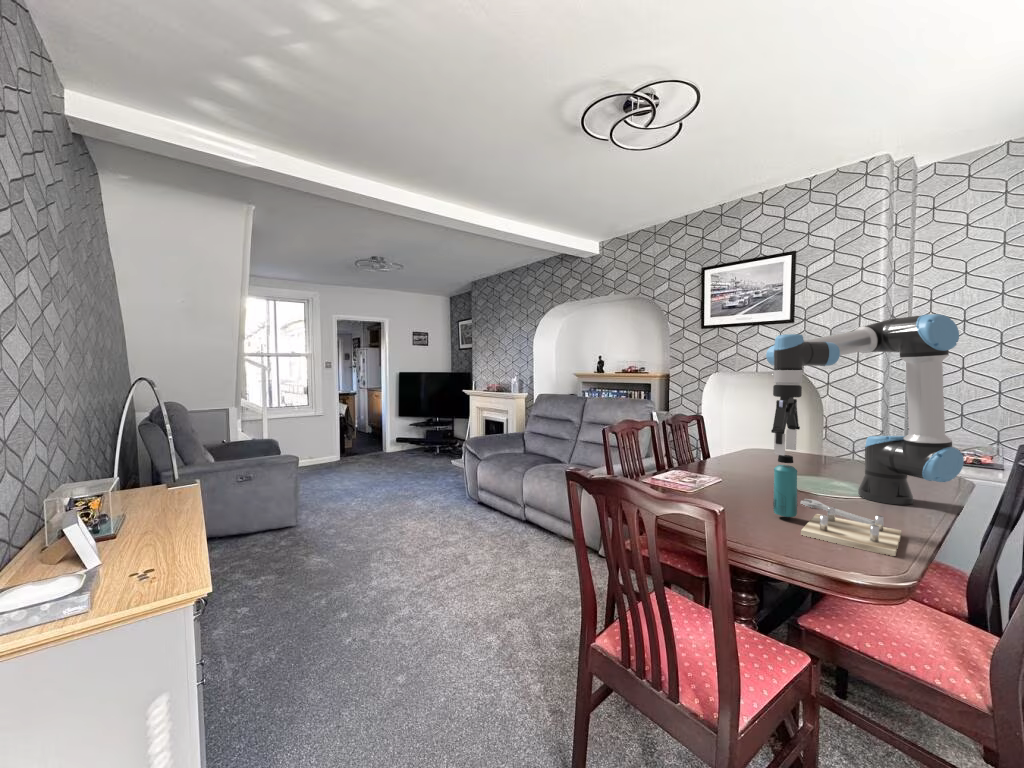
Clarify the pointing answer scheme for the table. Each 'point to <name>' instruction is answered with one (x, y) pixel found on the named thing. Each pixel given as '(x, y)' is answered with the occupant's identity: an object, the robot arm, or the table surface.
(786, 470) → the beverage bottle
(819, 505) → the adjustable wrench
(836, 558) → the table surface
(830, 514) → the steel pegs
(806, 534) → the birch board
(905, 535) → the table surface
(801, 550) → the table surface
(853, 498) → the table surface
